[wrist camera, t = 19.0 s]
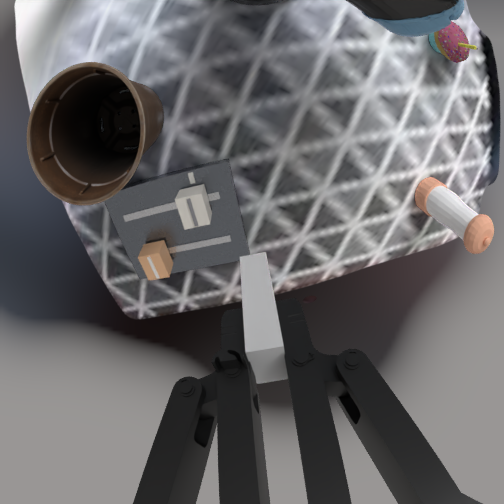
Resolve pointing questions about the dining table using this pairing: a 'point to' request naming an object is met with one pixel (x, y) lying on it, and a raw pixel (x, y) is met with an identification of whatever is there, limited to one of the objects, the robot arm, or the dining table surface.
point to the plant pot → (90, 132)
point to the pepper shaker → (454, 214)
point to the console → (169, 221)
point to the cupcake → (451, 43)
